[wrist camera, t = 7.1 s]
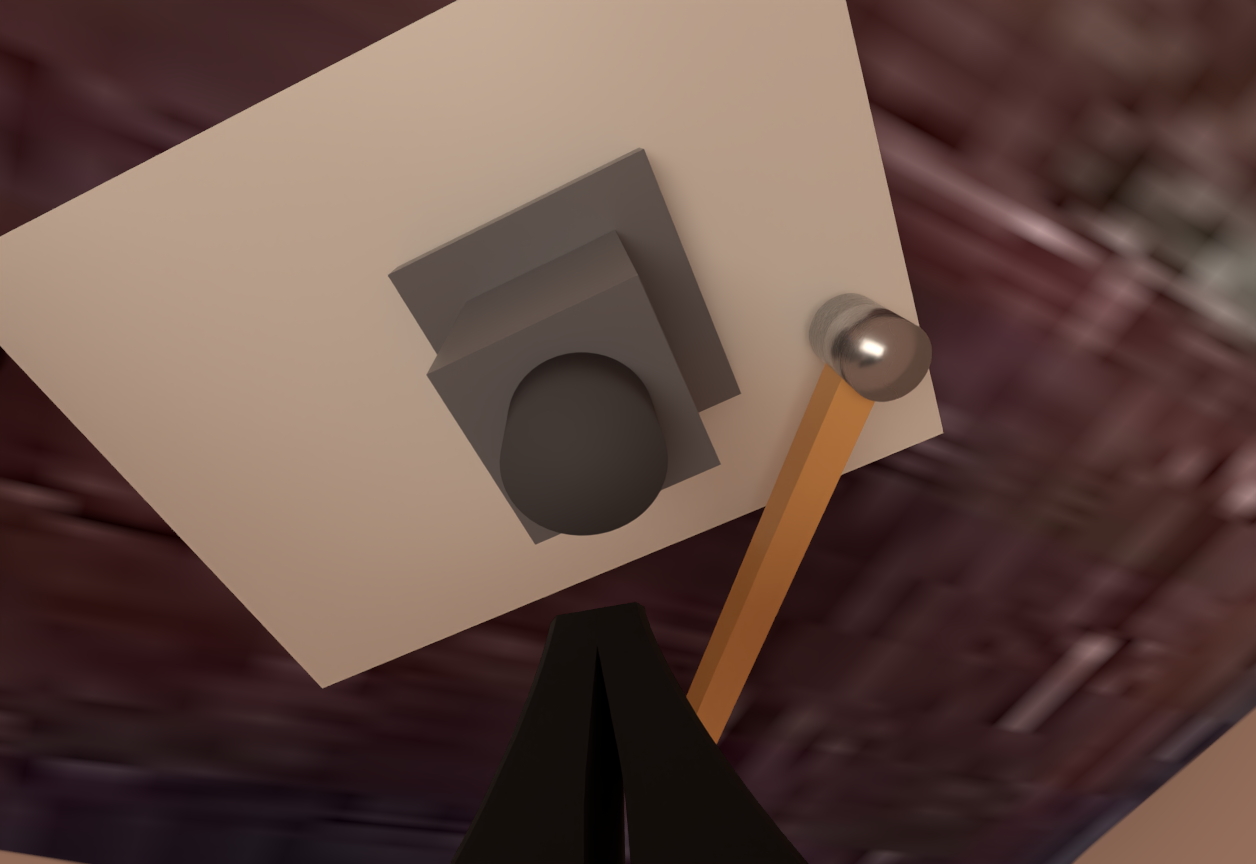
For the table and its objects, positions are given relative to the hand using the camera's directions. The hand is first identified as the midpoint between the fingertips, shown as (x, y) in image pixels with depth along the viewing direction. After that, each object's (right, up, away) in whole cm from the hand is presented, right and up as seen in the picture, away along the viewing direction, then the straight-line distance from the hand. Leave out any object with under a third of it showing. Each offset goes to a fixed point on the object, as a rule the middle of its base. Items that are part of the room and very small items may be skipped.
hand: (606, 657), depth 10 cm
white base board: (-3, +6, +8) cm, 11 cm away
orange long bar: (+4, 0, +9) cm, 9 cm away
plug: (-1, +7, +8) cm, 11 cm away
